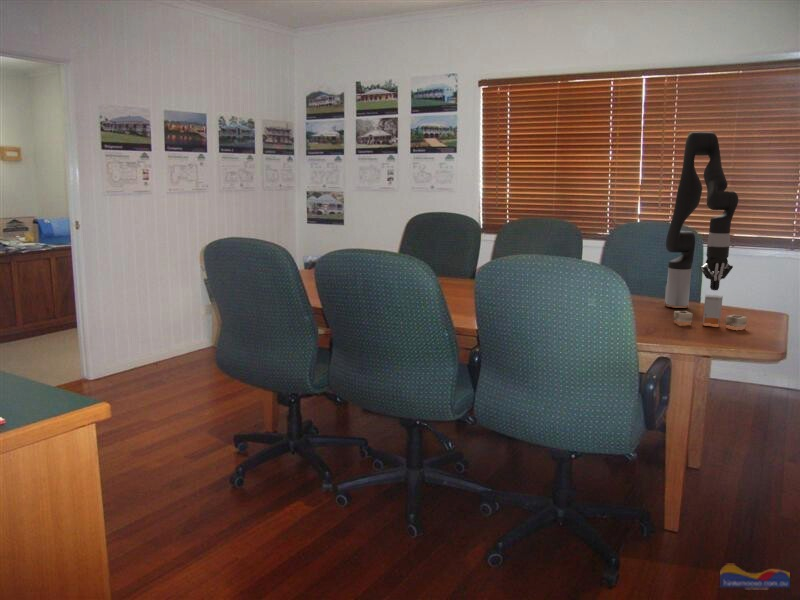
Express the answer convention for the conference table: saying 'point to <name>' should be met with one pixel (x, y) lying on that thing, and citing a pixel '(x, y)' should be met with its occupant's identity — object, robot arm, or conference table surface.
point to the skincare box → (712, 309)
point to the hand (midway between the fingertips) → (714, 290)
